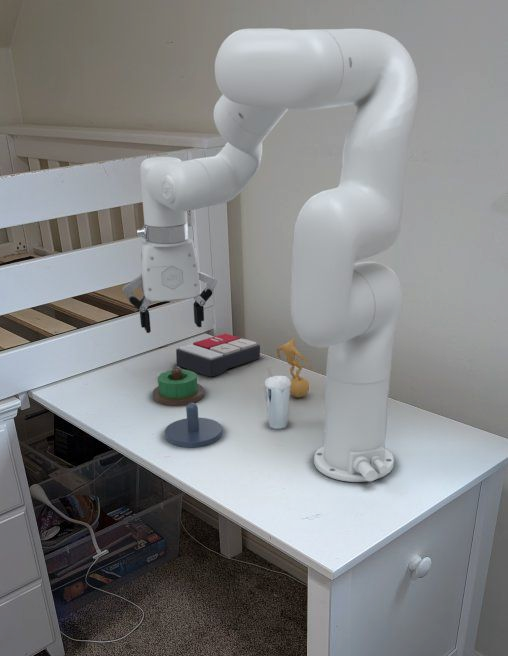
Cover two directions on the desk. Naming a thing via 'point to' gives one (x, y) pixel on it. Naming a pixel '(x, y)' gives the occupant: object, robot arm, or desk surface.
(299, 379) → the figurine
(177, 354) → the calculator
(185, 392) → the ring
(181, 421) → the slate peg
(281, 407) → the milkshake
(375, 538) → the desk surface
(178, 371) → the walnut peg
